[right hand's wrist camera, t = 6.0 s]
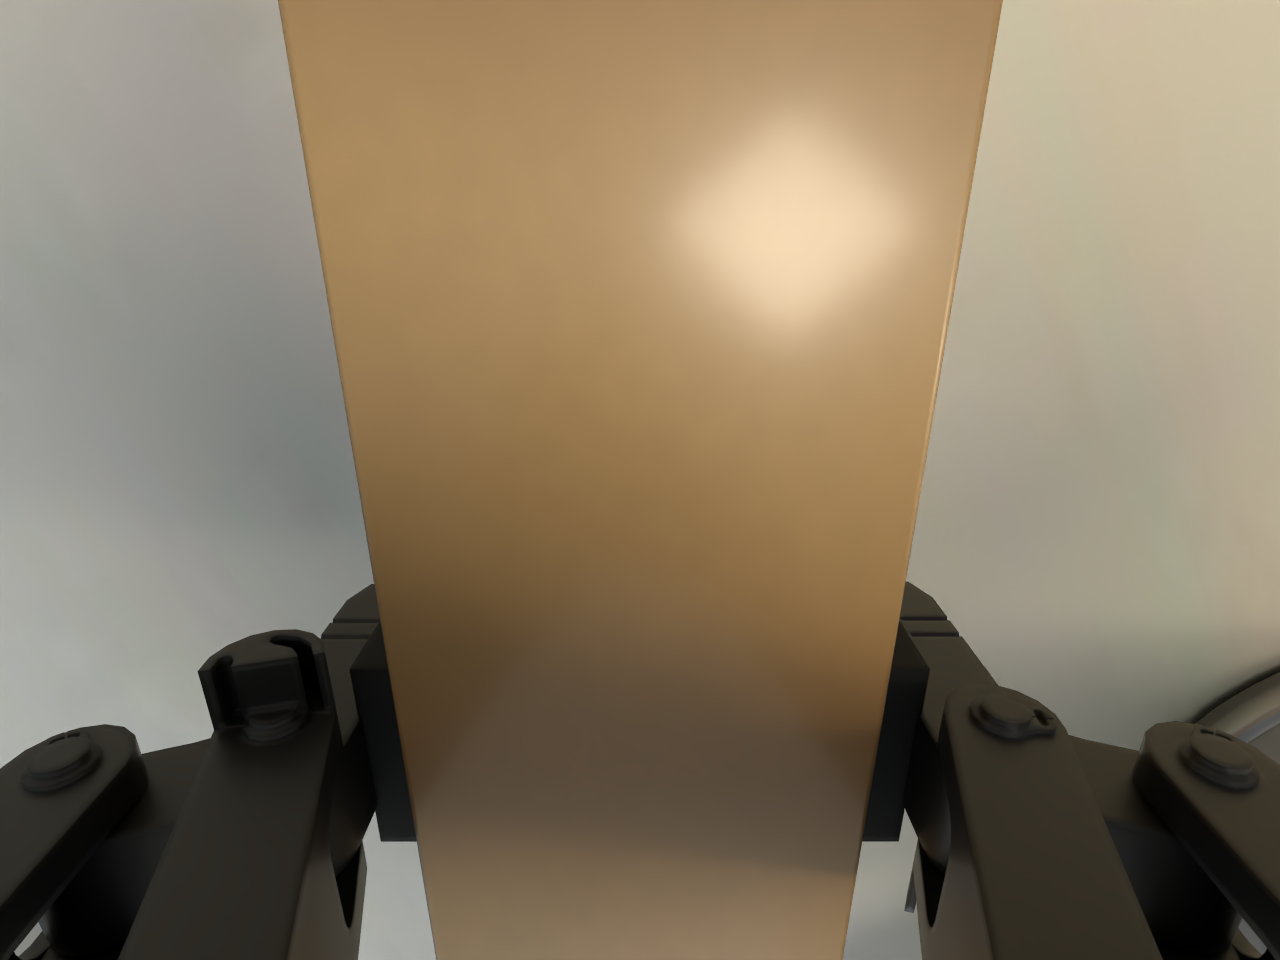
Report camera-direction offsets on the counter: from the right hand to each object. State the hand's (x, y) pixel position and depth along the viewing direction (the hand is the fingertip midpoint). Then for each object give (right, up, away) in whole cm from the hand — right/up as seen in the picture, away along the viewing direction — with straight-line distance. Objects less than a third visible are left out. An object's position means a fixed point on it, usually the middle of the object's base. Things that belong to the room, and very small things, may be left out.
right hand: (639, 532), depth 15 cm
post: (0, +26, -10) cm, 28 cm away
